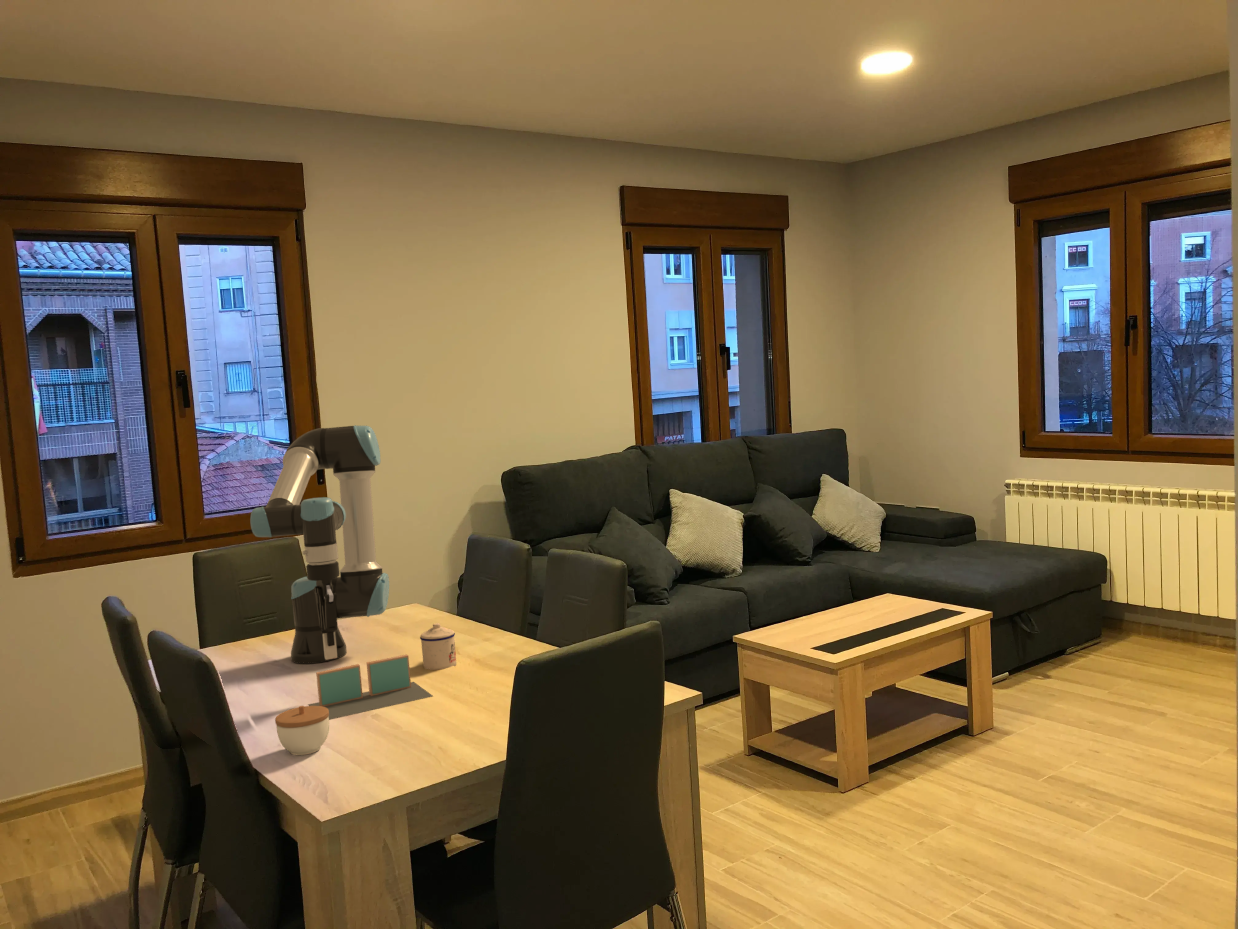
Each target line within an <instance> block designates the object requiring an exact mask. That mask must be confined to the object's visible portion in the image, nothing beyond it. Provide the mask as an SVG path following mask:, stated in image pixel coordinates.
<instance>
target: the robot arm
mask: <svg viewBox="0 0 1238 929" xmlns="http://www.w3.org/2000/svg"><path fill="white" fill-rule="evenodd" d="M380 464H381V450H380V446H379V442H378V438H377V435H376V433H375V431H374V429H373V428H372V427H371V426H369V425H355V424H354V425H348V426H336V427H320V428H315V429H311V430H309V431H307V432H305V433H303V434H302V435H300V436H299V437H297V438H296V439H295V440H294V441H293V442H292V443H291V444H290V445H289V446H288V447H287V448H286V451H285V453H284V455H283V458H282V465H283V466H282V469H281V470H280V474H279V476H278V478H277V480H276V483H275V485H274V487H273V489H272V492H271V494H270V496H269V499H268V501H267V503H266V506H261V507H260V506H259V507H255V508H253V509H252V511H251V513H250V520H249V521H250V523H249V524H250V528H251V532H252V534H253V535H254V536H255V537H256V538H274V537H285V536H294V535H295V536H296V535H303V544H304V550H302V554H303V555H304V556H305V562H306V563H307V564H306V566H305V569H306V576H303V577H300V578H298V579H296V580H295V581H294V582H292V583H291V587H290V589H291V590H290V591H291V603H292V604H291V605H292V612H293V613H292V616H293V623H294V637H293V643H292V646H291V650H290V656H291V657H290V659H291V662H293V663H295V664H306V665H307V664H318V663H325V662H328V661H334V660H336V659H340V658H342V657H344V656H345V655H346V654H347V644H346V642H345V639H344V637H343V635H342V633H341V630H340V628H339V626H338V619H346V618H348V619H349V618H359V617H360V618H361V617H367V618H369V617H372V616H380V615H382V614H383V613H385V611H386V609H387V606H388V603H389V594H390V576H389V573H386V572H383V566H382V565H381V564H379V563H378V562H377V554H376V542H375V541H376V540H375V528H374V526H375V525H374V512H373V499H372V498H373V497H372V484H371V483H372V482H371V478H372V476H373V475H374V474H375V473H376V466H380ZM324 469H325V470H328V469H330V470H331V469H332V473H333V476H334V477H335V478H336V479H337V480H338V481H339V493H340V496H339V497H340V503H339V502H337V501H334V500H332V498H331V497H325V496H323V497H312V498H307V499H303V496H304V493H305V492H306V488H307V487H308V483H309V481H310V478H311V476H313V475H315V473H316V472H317V471H318V470H324ZM302 499H303V500H302ZM340 528H342V537H343V538H342V539H343V552H344V566H342V568H341V569H340V565H339V562H338V561H337V560H338V559H339V553H338V552H339V550H338V542H337V536H336V535H337V534H336V531H338V530H339V529H340Z"/></svg>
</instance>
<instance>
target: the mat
mask: <svg viewBox="0 0 1238 929" xmlns="http://www.w3.org/2000/svg"><path fill="white" fill-rule="evenodd" d="M362 694H363V698H360V699H355V700H351V701H346V702H341V703H337V704H332V705H328V706H323V707H326V708H327V709H328V710H329V721H331V720H335V719H338V718H343V717H349V716H351V715H357V714H361V713H366V712H371V711H373V710H379V709H384V708H388V707H392V706H397V705H401V704H405V703H410V702H415V701H418V700H419V701H420V700H423V699H428V698H432V697H434V696H433V694H431V693H429V691H427V690H426V689H424V688H423V687H421V686H420V685H419V684H418V683H416V682H415V681H411V687H410V688H405V689H401V690H396V691H392V692H387V693H383V694H378V695H373V696H370V695H369V690H368V691H362ZM307 706H319V701H317V702H313V703H309V704H307Z"/></svg>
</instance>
